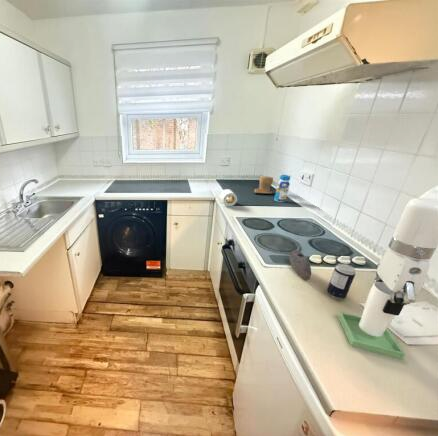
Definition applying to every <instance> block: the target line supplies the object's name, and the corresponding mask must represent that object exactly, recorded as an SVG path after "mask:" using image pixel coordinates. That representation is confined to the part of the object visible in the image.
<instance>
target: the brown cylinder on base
mask: <svg viewBox="0 0 438 436" xmlns="http://www.w3.org/2000/svg"><path fill="white" fill-rule="evenodd" d="M258 182H259V183H258V184H259V186H258V188H254V194H259V195H260V194H262V195H271V194H273V191H272V190H271V187H272V185H273V183H274V177H273V176H266V175H260V176H259V180H258Z"/></svg>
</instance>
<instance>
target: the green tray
mask: <svg viewBox="0 0 438 436" xmlns="http://www.w3.org/2000/svg"><path fill="white" fill-rule="evenodd" d="M361 317H362V316H359V315H354V314H350V313H346V312H341V311H339V313H338V316H337V318H338V320H339V323H340V325H341V327H342V329H343V331H344V333H345V336H346V338H347V341H348V342H349V345H350V346H351V347H354V348H357V349H361V350H363V351H364V350H365V351H368V352H372V353H376V354H379V355H380V354H381V355H383V356H387V357H391V358H395V359H398V360H403V359H404V357H405V356H406V353H405V352H404V350H403V349H402V348H401V346H400V344H399V343H398V341H397V339H395V338H396V337H394V335H393V333H391V331H390V330H389V328H388V327H387V329H386V330H385V332H384V334H383V335H382V336H380V337H374V336H371V335H369V334H367V333H365V332H364V331H362V330H361V328H360V327H359V322H360V320H361Z"/></svg>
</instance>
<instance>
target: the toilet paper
mask: <svg viewBox="0 0 438 436" xmlns="http://www.w3.org/2000/svg"><path fill="white" fill-rule="evenodd" d="M219 198H220V200H221V201H222V202H223V204H224V205H225V206H227V207H232V206H234V205H236V204H237V202H238V196H237V194H235V193H234V192H233V190H231V189H229V188H227V189H226V188H225V189H223V190H221V192H220V194H219Z"/></svg>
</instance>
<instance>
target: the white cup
mask: <svg viewBox="0 0 438 436" xmlns="http://www.w3.org/2000/svg"><path fill="white" fill-rule="evenodd" d="M374 282H375V281H374ZM374 282H373V284H372V285H371V288H370V290H369V292H368V294H367V297H366V301H365V304H364V307H363V311H362V314H361V316H360V317H361V320H360V322H359V327H360V328H361V330H362V331H364V332H365V333H367V334H369V335H371V336H374V337H380V336H382V335H383V334H384V332H385V330H386V329H387V328H388V327H389V326H390V325H391V323H392V322H393V320H394V319H395V318H396V315H392V314H387V313H384V312H383V311H382V310H383V308H384V306H385V304H386V302H387V300H390V297H391V290H390V289H389V288H388V287H387V285H386V284H385V283H384V282H375V283H374ZM398 291H402V292H403V289H400V290H398ZM396 298H402V294H398V293H397V295H396Z"/></svg>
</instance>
